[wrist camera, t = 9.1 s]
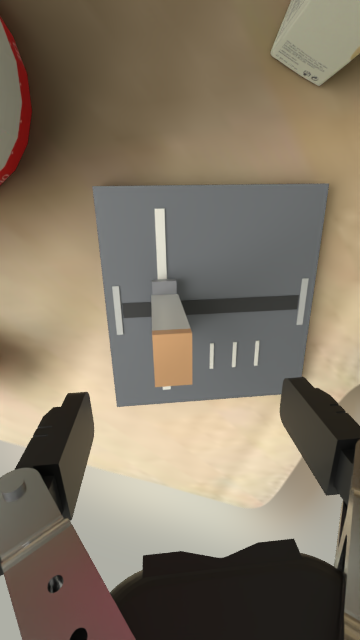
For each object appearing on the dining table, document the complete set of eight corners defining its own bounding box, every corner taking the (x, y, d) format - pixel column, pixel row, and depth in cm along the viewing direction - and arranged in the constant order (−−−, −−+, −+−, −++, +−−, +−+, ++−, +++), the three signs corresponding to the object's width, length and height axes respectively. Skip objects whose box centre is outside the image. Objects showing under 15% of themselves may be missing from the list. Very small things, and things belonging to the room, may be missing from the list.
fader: (176, 278, 22) (192, 313, 14) (178, 338, 24) (192, 400, 16) (150, 279, 22) (151, 316, 14) (153, 340, 24) (156, 403, 16)
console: (317, 185, 23) (329, 183, 21) (291, 384, 29) (299, 393, 27) (96, 188, 21) (92, 186, 20) (118, 397, 27) (116, 407, 26)
